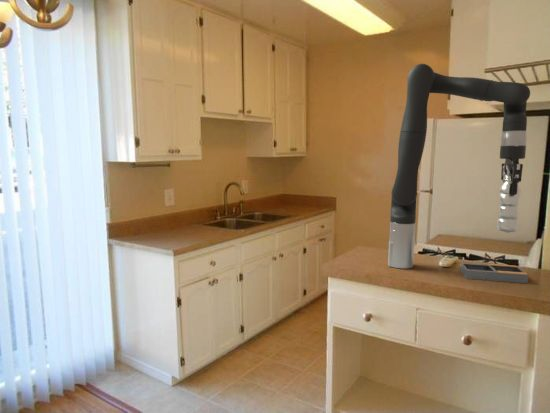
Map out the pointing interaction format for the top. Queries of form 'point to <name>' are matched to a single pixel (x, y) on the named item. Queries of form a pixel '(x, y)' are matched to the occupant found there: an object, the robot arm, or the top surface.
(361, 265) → the top surface
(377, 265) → the top surface
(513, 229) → the plastic bottle
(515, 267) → the grey tray
